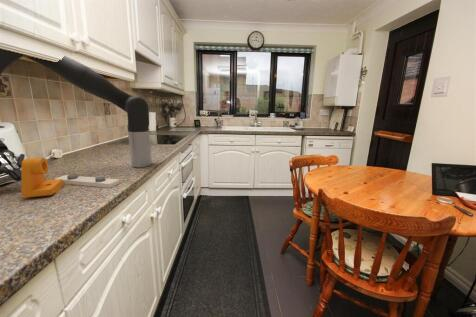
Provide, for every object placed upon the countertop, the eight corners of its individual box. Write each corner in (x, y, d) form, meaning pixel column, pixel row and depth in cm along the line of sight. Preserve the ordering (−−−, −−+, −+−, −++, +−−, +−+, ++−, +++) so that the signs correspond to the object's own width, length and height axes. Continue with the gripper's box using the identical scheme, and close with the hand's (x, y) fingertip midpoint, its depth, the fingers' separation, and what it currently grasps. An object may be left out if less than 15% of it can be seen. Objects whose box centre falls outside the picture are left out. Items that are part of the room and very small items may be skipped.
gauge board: (66, 178, 86) (65, 172, 85) (119, 183, 82) (119, 177, 82) (53, 182, 81) (52, 176, 80) (110, 187, 77) (109, 181, 77)
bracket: (52, 197, 69) (45, 161, 66) (23, 200, 66) (14, 163, 63) (64, 185, 78) (59, 154, 76) (39, 188, 76) (33, 155, 73)
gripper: (-41, 137, 64) (2, 178, 65) (11, 132, 77) (46, 167, 78) (-49, 153, 66) (-7, 193, 67) (2, 146, 79) (37, 179, 80)
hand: (21, 179), depth 73 cm, fingers closed
